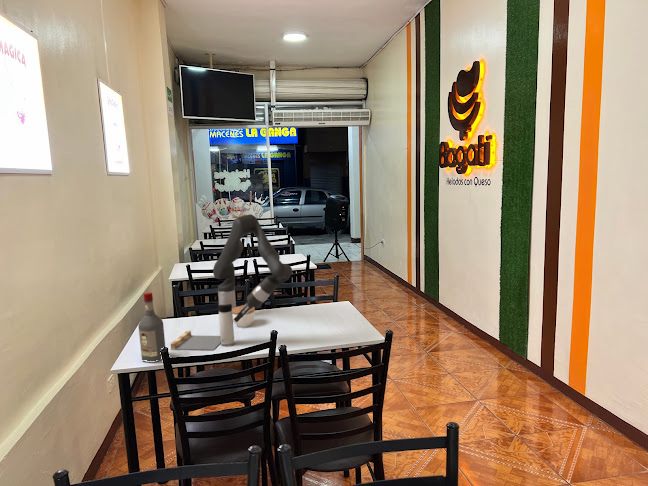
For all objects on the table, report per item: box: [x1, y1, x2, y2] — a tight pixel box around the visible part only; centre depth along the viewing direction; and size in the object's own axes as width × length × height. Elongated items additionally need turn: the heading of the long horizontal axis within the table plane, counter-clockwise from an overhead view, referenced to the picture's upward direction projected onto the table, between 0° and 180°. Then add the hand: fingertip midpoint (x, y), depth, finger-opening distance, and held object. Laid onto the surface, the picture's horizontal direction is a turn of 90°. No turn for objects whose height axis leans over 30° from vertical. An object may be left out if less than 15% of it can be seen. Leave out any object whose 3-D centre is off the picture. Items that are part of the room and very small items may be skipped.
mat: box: [174, 334, 221, 352], centre depth 215 cm, size 18×19×1 cm
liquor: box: [137, 292, 166, 361], centre depth 196 cm, size 9×9×30 cm
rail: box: [170, 330, 192, 351], centre depth 216 cm, size 18×2×3 cm, turn 172°
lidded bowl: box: [232, 304, 256, 328], centre depth 239 cm, size 13×13×11 cm
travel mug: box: [217, 304, 235, 347], centre depth 211 cm, size 6×7×20 cm
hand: (235, 320), depth 210 cm, fingers closed
